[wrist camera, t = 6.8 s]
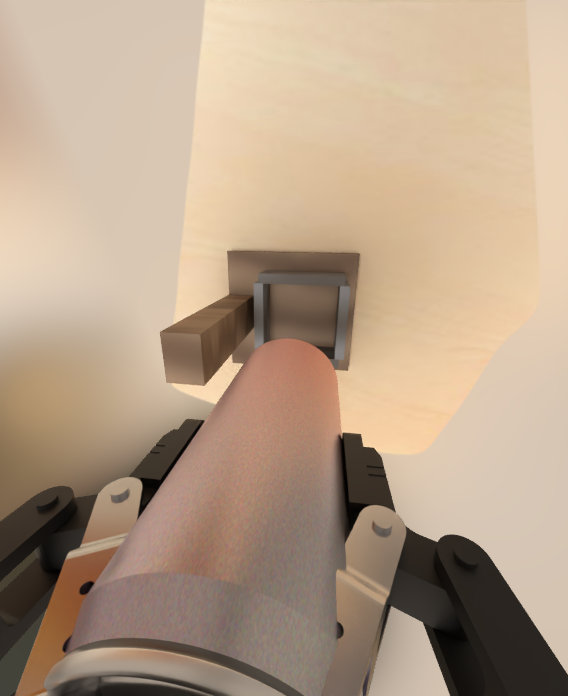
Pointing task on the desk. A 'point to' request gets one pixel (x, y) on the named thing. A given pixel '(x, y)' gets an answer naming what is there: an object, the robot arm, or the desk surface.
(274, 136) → the desk surface
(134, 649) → the beverage can
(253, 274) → the post holder
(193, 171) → the desk surface
